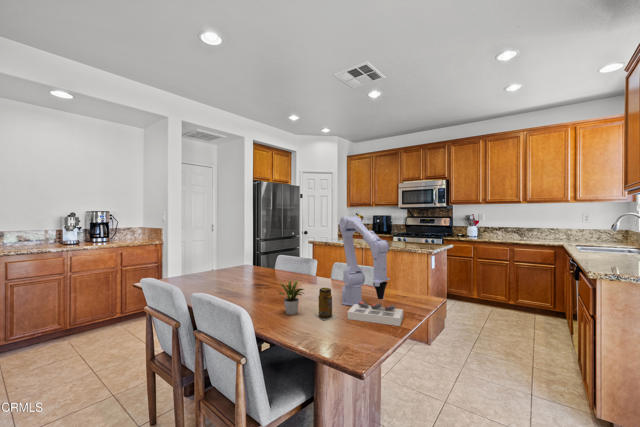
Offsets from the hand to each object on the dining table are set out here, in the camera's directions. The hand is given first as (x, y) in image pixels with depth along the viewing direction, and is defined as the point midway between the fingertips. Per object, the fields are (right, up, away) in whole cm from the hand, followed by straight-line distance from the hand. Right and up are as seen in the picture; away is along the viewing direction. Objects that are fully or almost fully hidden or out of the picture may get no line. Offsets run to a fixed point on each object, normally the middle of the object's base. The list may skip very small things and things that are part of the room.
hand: (380, 298), depth 127 cm
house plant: (-41, -9, +6) cm, 42 cm away
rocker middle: (-2, -4, +1) cm, 4 cm away
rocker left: (-7, -4, +3) cm, 9 cm away
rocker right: (+4, -4, -2) cm, 6 cm away
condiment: (-24, -9, +2) cm, 25 cm away
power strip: (-2, -8, 0) cm, 8 cm away
